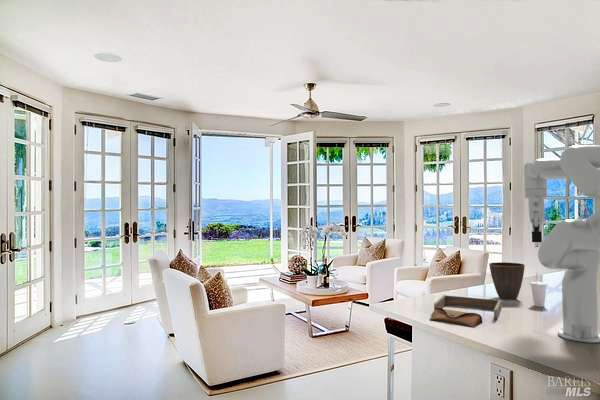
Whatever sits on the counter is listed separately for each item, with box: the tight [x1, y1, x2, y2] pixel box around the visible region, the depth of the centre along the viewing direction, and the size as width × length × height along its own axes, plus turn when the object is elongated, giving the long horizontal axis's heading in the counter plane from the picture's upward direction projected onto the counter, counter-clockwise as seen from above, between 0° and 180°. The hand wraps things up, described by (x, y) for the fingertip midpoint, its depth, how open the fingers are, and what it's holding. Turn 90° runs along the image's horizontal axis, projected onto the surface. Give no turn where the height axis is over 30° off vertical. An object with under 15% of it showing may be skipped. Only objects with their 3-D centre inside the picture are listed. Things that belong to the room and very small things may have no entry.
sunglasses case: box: [429, 308, 483, 328], centre depth 158 cm, size 18×7×7 cm
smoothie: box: [530, 272, 548, 307], centre depth 182 cm, size 6×6×14 cm
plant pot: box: [488, 261, 525, 301], centre depth 198 cm, size 15×15×16 cm
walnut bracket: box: [433, 294, 502, 322], centre depth 173 cm, size 19×23×4 cm
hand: (536, 242), depth 161 cm, fingers closed
